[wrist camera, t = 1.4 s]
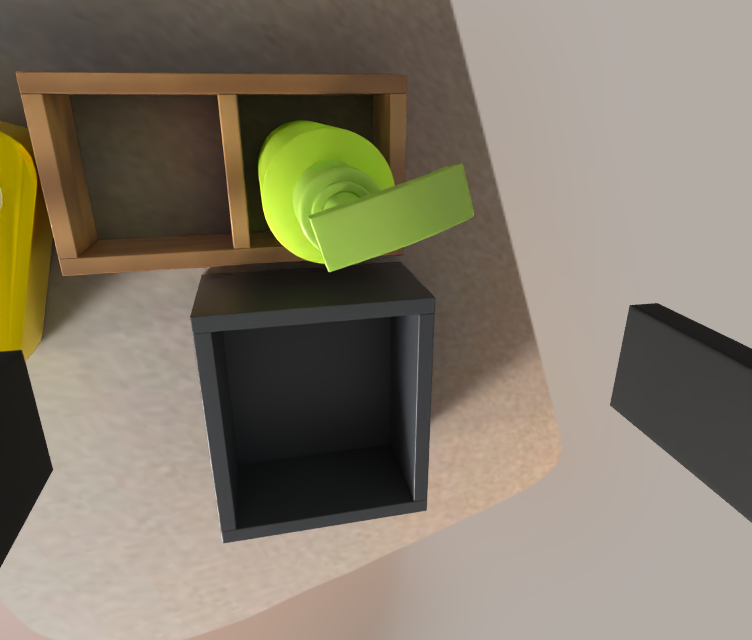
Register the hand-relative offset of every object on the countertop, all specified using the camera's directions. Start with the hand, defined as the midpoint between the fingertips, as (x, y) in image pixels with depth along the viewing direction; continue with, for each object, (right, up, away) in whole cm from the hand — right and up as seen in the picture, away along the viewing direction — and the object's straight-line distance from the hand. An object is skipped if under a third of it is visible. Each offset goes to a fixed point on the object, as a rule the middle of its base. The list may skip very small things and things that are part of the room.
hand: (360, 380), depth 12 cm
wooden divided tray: (-9, +11, +23) cm, 27 cm away
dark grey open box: (-5, -2, +29) cm, 29 cm away
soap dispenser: (-4, +12, +24) cm, 27 cm away
